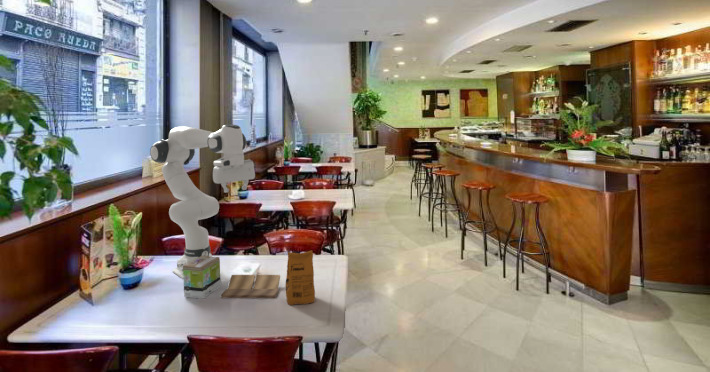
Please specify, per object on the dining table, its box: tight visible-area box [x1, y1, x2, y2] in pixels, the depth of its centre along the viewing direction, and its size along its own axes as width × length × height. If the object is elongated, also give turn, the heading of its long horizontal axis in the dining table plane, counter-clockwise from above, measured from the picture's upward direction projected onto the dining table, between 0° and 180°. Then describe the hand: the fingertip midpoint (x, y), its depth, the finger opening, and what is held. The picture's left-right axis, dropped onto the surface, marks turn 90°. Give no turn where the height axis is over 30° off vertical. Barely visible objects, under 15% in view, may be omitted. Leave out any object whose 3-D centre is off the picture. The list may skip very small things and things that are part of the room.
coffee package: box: [285, 250, 316, 306], centre depth 181 cm, size 10×12×22 cm
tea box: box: [183, 256, 222, 299], centre depth 192 cm, size 15×10×15 cm, turn 168°
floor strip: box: [220, 288, 279, 299], centre depth 189 cm, size 24×7×1 cm, turn 88°
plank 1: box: [227, 274, 256, 289], centre depth 196 cm, size 11×8×1 cm
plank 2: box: [253, 274, 281, 290], centre depth 196 cm, size 11×8×1 cm
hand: (235, 191), depth 192 cm, fingers open, 8 cm apart
